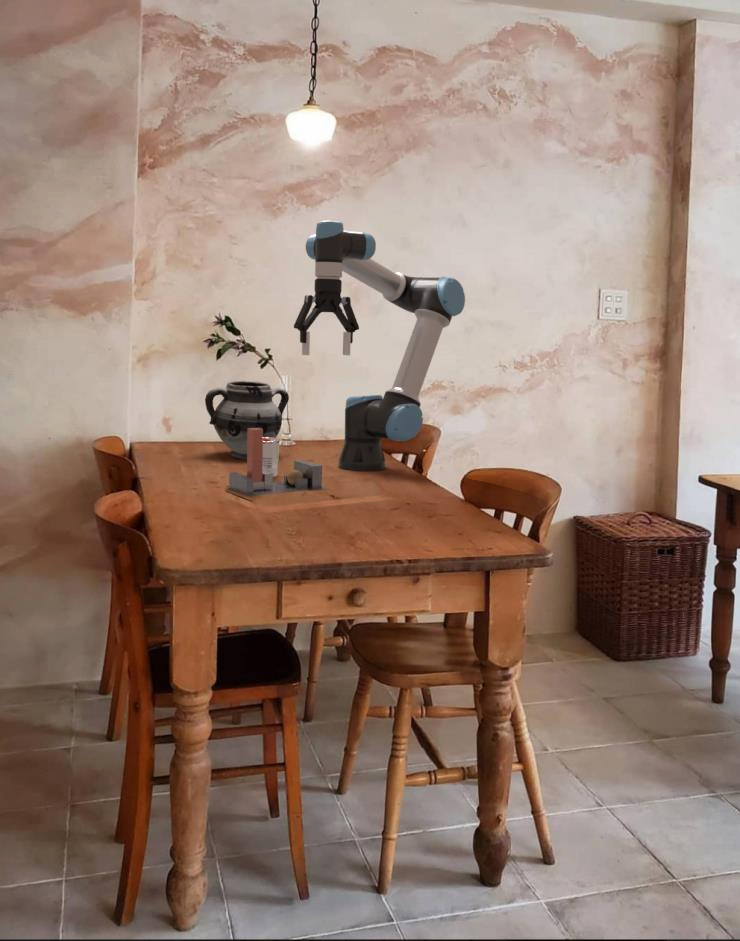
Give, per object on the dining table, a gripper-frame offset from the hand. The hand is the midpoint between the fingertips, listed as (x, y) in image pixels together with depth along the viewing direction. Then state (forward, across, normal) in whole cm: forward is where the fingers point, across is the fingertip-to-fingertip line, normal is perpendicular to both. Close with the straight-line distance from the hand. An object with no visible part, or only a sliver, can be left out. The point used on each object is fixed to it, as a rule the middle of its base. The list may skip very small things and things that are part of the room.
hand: (326, 355), depth 262 cm
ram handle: (+35, +25, +7) cm, 44 cm away
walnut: (+35, +14, +7) cm, 38 cm away
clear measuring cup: (+37, +13, -11) cm, 41 cm away
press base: (+37, +19, +7) cm, 42 cm away
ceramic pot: (+37, -2, -51) cm, 63 cm away
